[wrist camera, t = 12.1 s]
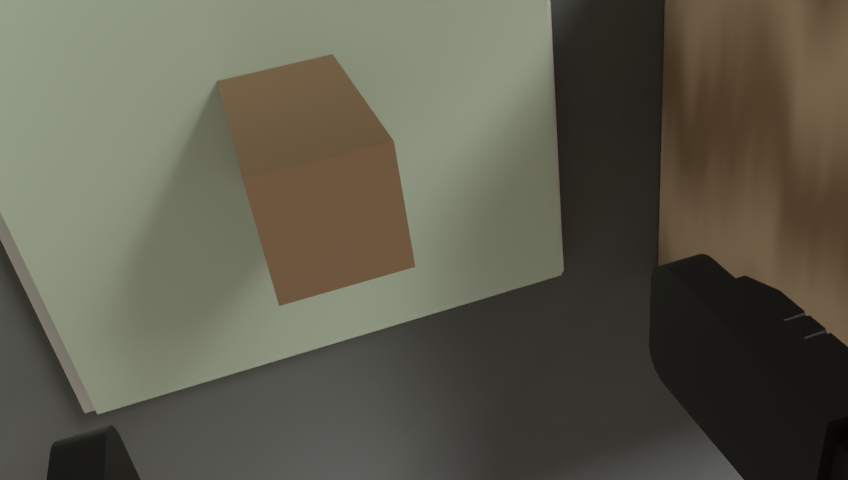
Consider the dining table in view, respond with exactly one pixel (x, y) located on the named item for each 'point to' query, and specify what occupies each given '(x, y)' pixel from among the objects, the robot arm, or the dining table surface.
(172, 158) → the lid
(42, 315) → the grey mat
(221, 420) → the dining table surface
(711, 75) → the oak box
